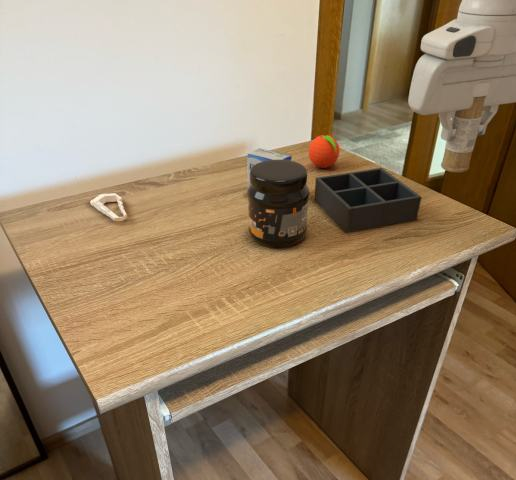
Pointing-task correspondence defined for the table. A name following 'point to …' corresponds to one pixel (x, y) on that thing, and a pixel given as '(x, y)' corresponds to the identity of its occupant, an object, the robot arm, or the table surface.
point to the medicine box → (263, 158)
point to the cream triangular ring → (99, 205)
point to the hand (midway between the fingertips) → (462, 136)
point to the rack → (366, 199)
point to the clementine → (323, 151)
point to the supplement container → (278, 202)
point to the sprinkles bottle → (465, 132)
